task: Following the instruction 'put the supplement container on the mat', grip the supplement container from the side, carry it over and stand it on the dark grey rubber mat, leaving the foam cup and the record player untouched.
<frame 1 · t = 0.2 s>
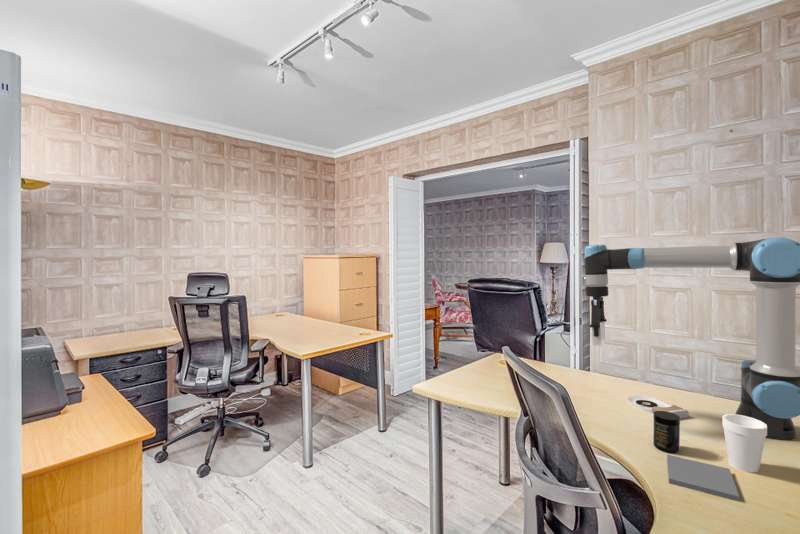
hand: (599, 341, 143), 27 cm above the table, tool pointing down, fingers open, 13 cm apart
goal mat: (699, 477, 102), on the table
supplement container: (666, 448, 117), on the table
foam cup: (743, 466, 107), on the table
record player: (654, 409, 147), on the table
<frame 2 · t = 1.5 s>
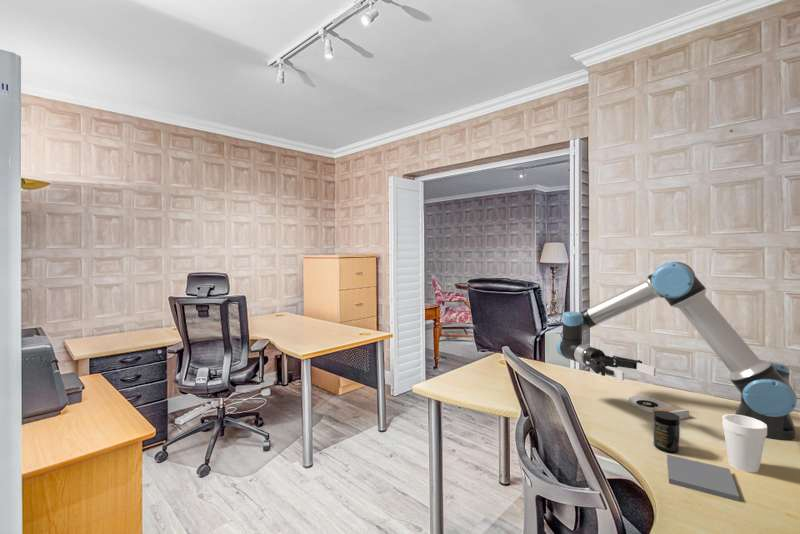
hand: (639, 374, 126), 20 cm above the table, tool horizontal, fingers open, 13 cm apart
nothing on the table moved.
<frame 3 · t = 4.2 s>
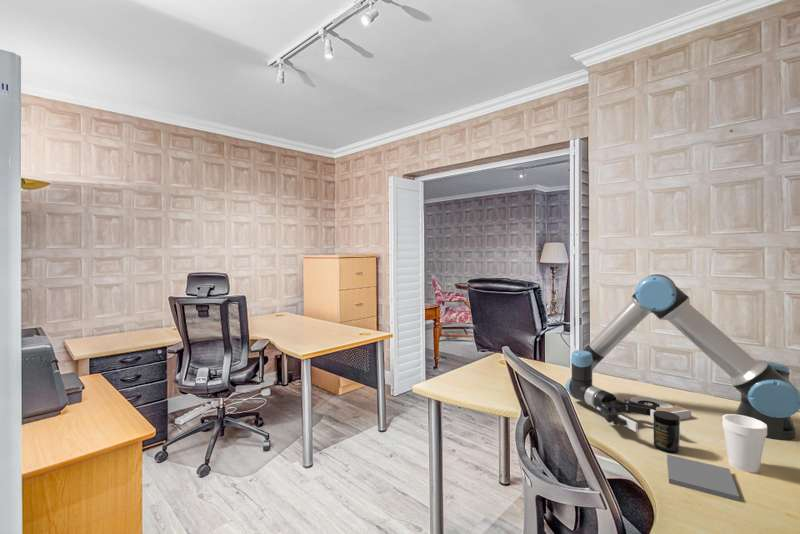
hand: (653, 424, 121), 6 cm above the table, tool horizontal, fingers open, 13 cm apart
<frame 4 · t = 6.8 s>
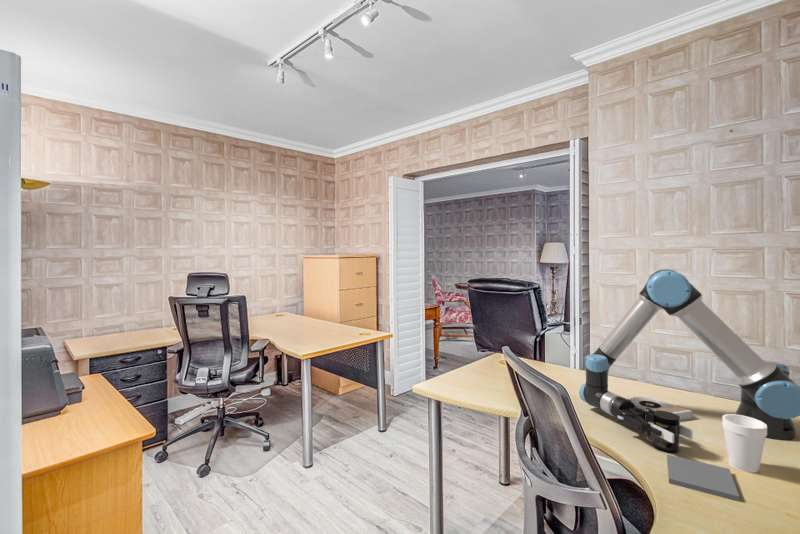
hand: (682, 436, 112), 6 cm above the table, tool horizontal, fingers closed on supplement container, 7 cm apart
supplement container: (666, 448, 117), on the table, touching gripper
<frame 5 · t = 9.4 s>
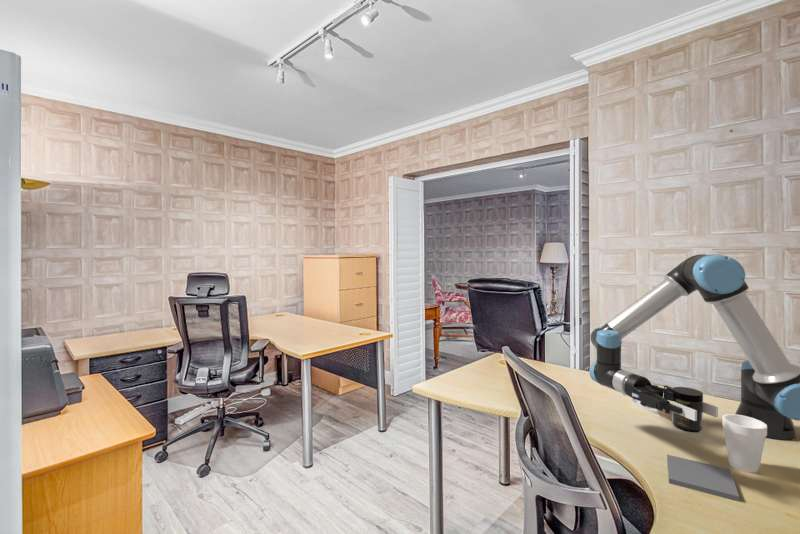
hand: (706, 413, 100), 18 cm above the table, tool horizontal, fingers closed on supplement container, 7 cm apart
supplement container: (687, 428, 105), point 12 cm above the table, touching gripper
when the fingers open (9 cm above the table, at t = 12.2 s): supplement container drops 2 cm, resting on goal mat.
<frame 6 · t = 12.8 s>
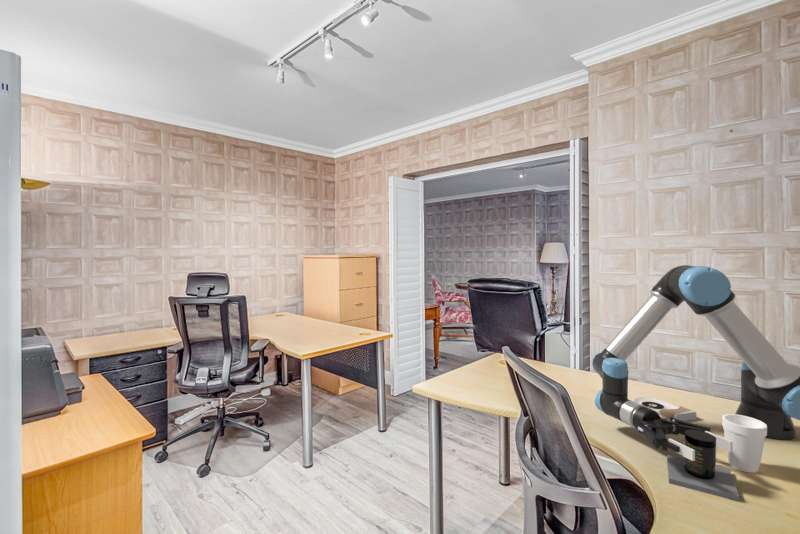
hand: (713, 451, 98), 9 cm above the table, tool horizontal, fingers open, 13 cm apart
supplement container: (699, 473, 102), point 1 cm above the table, touching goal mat
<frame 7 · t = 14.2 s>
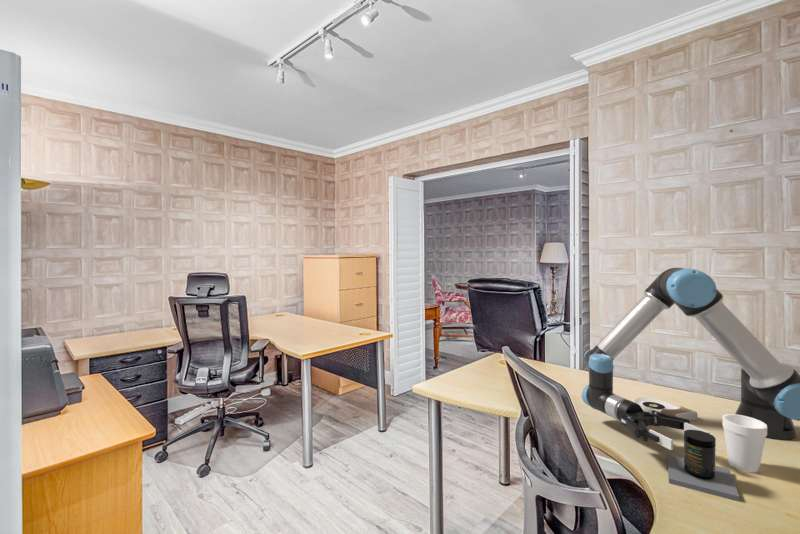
hand: (690, 441, 104), 9 cm above the table, tool horizontal, fingers open, 13 cm apart
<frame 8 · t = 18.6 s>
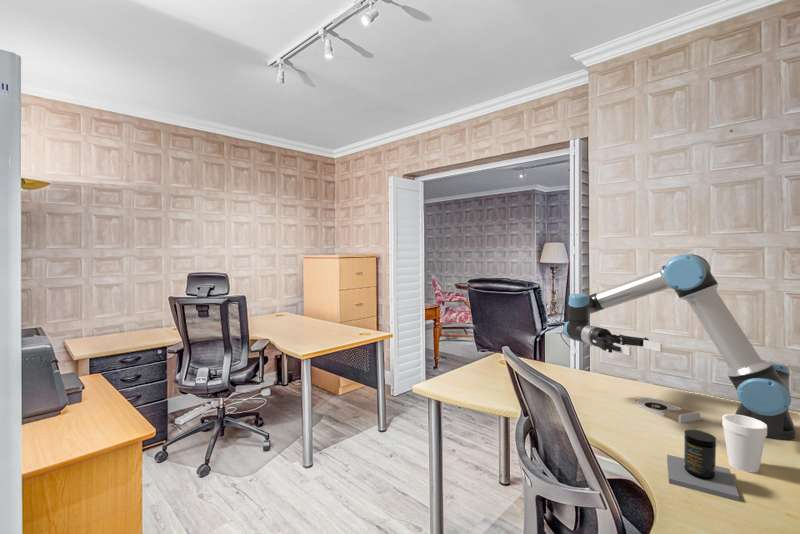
hand: (646, 349, 128), 28 cm above the table, tool horizontal, fingers open, 13 cm apart
at the end: supplement container inside the target area on the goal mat (0.1 cm from its centre), point 1.0 cm above the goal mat's base; supplement container tilted 1°; foam cup moved 0.2 cm from its start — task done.
